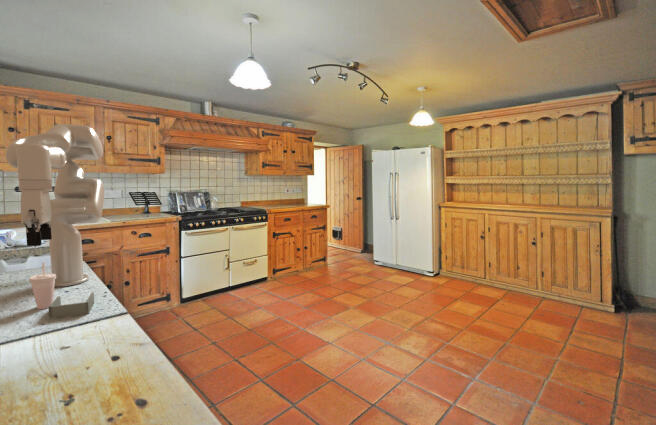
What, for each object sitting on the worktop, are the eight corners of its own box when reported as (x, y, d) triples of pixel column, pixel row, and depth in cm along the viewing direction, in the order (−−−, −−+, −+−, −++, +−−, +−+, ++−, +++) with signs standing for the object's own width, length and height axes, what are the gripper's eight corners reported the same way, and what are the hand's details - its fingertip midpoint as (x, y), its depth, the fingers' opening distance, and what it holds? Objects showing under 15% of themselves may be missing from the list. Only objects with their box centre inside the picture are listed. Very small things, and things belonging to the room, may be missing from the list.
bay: (58, 307, 104) (57, 296, 104) (94, 303, 108) (93, 292, 108) (49, 319, 96) (48, 307, 96) (88, 313, 100) (87, 302, 99)
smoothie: (42, 311, 101) (39, 265, 99) (25, 309, 102) (21, 264, 101) (63, 303, 107) (60, 260, 106) (47, 301, 108) (43, 259, 107)
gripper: (30, 185, 107) (34, 238, 108) (7, 187, 91) (12, 249, 93) (59, 185, 110) (63, 237, 112) (42, 187, 94) (46, 247, 96)
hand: (40, 242), depth 102 cm, fingers open, 9 cm apart
